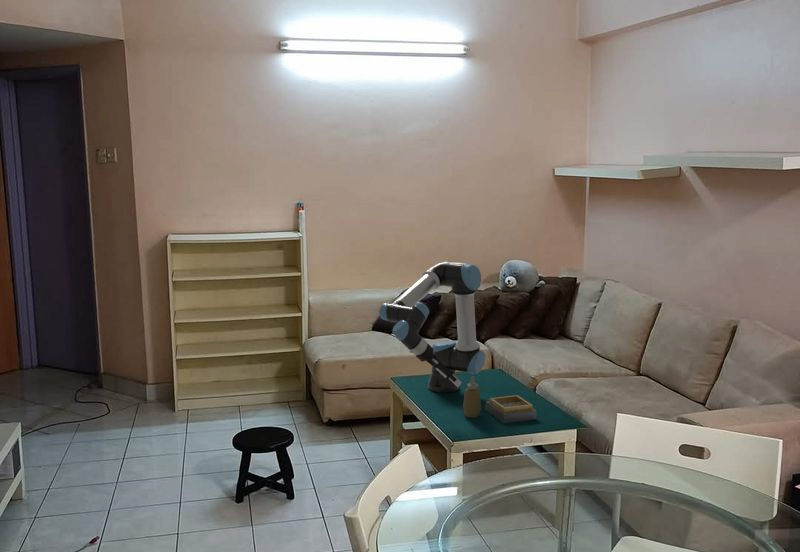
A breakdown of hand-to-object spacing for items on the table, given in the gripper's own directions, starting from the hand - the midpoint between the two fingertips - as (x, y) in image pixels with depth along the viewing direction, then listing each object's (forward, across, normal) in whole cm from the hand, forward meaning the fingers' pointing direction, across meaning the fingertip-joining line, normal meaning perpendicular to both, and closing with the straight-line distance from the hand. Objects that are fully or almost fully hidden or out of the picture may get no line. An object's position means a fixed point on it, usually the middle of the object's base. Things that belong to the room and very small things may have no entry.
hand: (453, 380), depth 342 cm
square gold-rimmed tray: (+31, +4, +6) cm, 32 cm away
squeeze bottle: (+19, 0, -6) cm, 20 cm away
